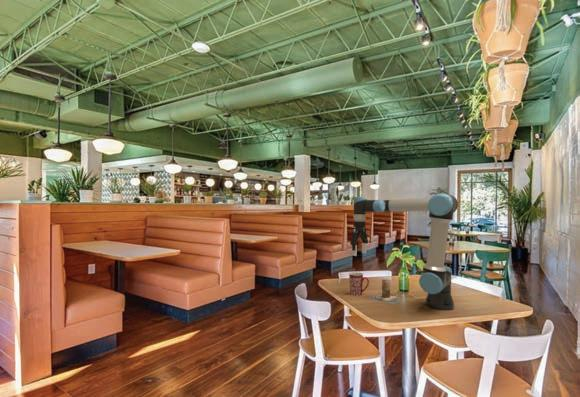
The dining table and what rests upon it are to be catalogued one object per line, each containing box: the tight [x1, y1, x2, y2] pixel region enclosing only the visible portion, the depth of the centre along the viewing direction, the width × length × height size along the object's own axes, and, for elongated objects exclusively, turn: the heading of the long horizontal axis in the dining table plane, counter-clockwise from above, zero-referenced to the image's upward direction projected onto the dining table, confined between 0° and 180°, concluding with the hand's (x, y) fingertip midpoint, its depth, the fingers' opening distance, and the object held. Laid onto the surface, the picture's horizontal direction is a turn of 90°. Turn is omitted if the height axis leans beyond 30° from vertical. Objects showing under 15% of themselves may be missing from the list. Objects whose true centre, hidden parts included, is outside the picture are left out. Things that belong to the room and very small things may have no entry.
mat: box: [368, 292, 404, 305], centre depth 195 cm, size 16×16×1 cm
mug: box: [348, 271, 370, 297], centre depth 203 cm, size 13×9×14 cm
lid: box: [375, 279, 397, 302], centre depth 195 cm, size 12×12×11 cm
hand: (359, 254), depth 204 cm, fingers open, 13 cm apart
